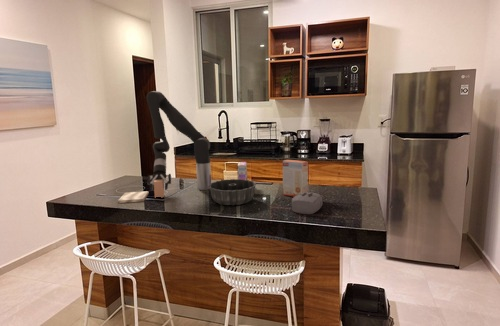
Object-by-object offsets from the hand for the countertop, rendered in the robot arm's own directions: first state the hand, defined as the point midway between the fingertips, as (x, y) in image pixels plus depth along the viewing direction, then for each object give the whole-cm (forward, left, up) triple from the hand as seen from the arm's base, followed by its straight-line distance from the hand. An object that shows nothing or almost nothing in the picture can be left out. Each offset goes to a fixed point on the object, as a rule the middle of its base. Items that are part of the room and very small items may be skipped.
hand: (158, 189), depth 191 cm
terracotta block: (0, -1, -5) cm, 5 cm away
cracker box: (-80, +16, -5) cm, 82 cm away
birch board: (+15, -1, -5) cm, 16 cm away
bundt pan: (-43, +19, -5) cm, 47 cm away
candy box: (-52, -10, -5) cm, 53 cm away
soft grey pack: (-80, +40, -5) cm, 89 cm away
